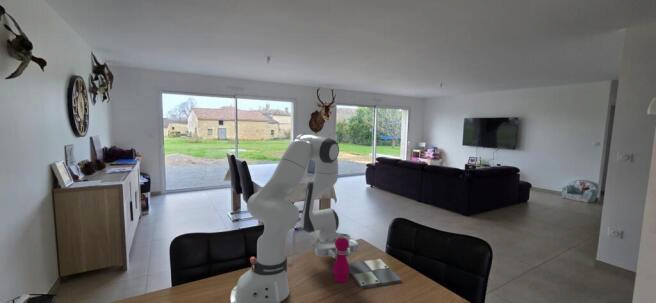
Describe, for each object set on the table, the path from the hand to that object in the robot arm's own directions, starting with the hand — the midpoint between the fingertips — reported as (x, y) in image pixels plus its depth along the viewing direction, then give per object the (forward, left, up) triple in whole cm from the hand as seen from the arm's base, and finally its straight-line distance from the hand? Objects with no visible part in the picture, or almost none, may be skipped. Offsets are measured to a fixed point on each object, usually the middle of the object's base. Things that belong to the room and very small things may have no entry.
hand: (342, 255), depth 118 cm
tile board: (+15, +1, -11) cm, 19 cm away
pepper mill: (0, +1, -11) cm, 11 cm away
